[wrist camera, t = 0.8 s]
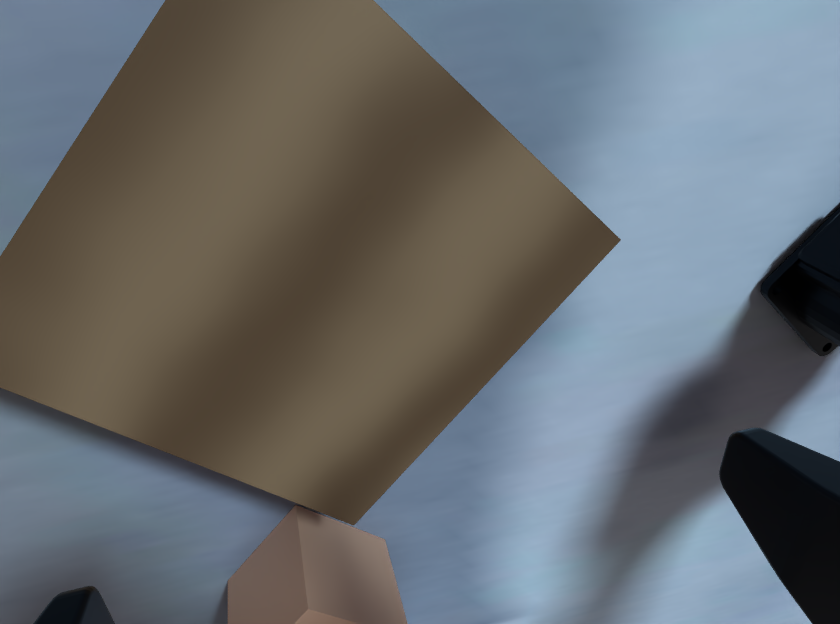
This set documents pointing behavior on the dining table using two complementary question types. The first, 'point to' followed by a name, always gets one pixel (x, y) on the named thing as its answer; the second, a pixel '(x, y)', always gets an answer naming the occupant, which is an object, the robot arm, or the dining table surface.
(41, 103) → the dining table surface
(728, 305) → the dining table surface
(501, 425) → the dining table surface
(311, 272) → the walnut base
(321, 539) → the terracotta cube
